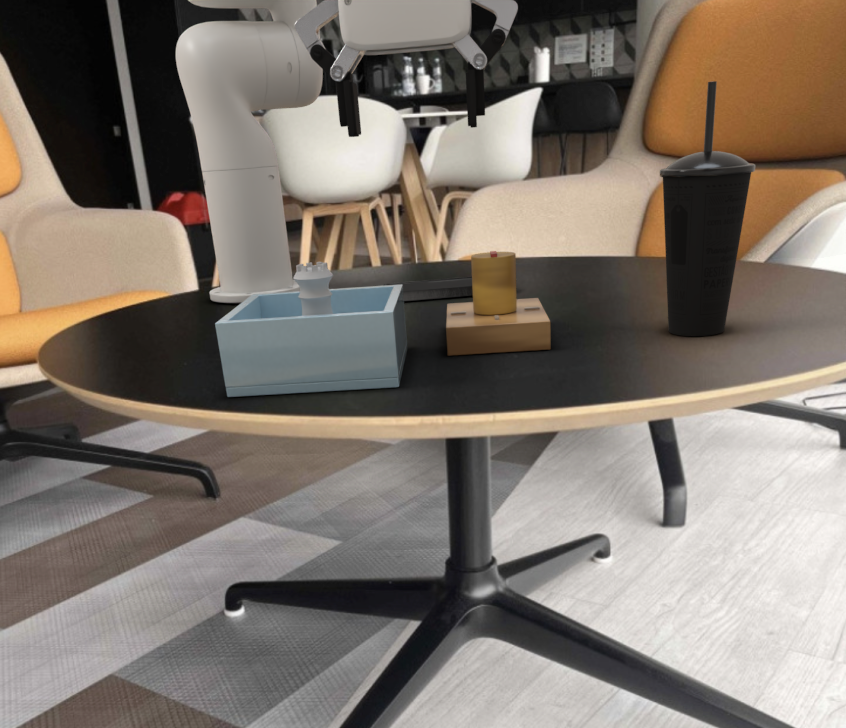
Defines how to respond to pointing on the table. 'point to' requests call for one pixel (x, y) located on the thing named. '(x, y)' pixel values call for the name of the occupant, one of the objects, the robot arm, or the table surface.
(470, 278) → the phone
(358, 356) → the basin
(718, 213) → the drinking cup
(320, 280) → the rook chess piece
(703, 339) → the table surface
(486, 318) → the panel
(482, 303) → the red-marked tan cylinder
